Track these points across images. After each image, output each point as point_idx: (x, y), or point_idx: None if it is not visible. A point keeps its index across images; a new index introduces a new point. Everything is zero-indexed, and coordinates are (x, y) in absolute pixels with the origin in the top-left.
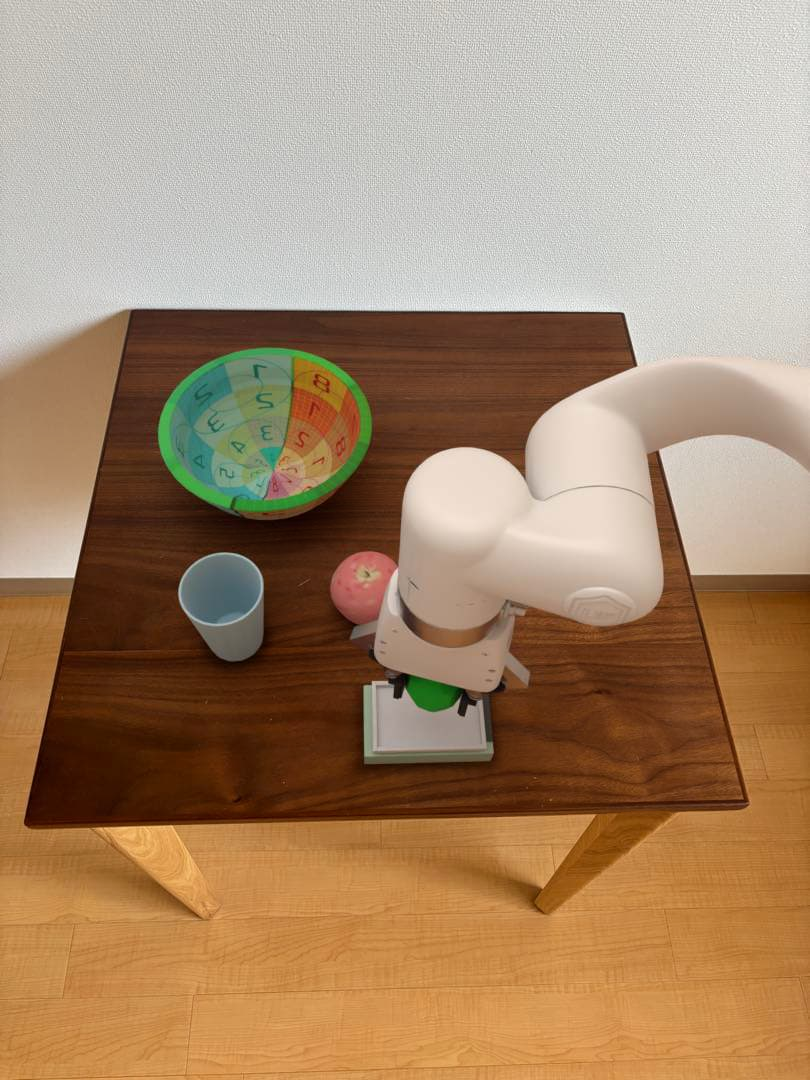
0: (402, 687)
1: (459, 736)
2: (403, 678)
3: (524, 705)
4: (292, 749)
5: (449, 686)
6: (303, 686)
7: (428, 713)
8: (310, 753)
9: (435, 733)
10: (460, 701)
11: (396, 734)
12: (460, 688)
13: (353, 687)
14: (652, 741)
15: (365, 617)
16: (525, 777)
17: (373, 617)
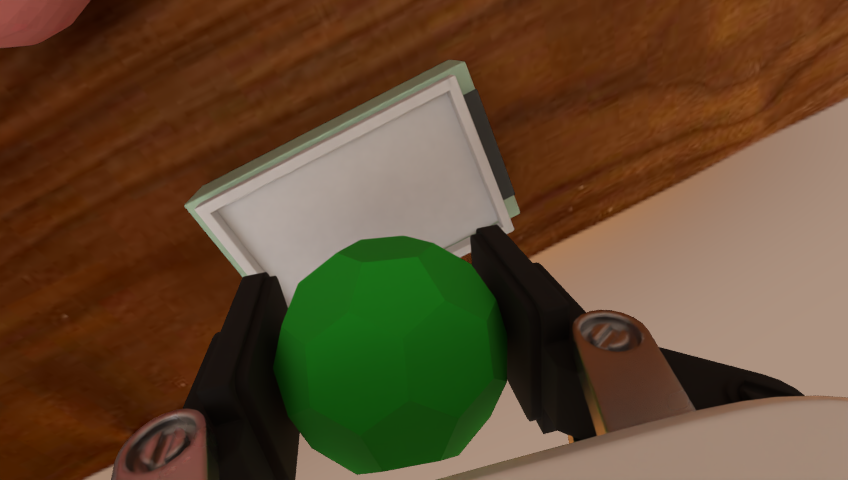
0: (297, 442)
1: (449, 224)
2: (285, 477)
3: (541, 52)
4: (152, 339)
5: (477, 419)
6: (63, 230)
7: (366, 208)
8: (188, 330)
9: None
10: (520, 402)
11: None
12: (506, 364)
13: (169, 181)
14: (790, 18)
15: (2, 40)
16: (565, 194)
17: (29, 27)
